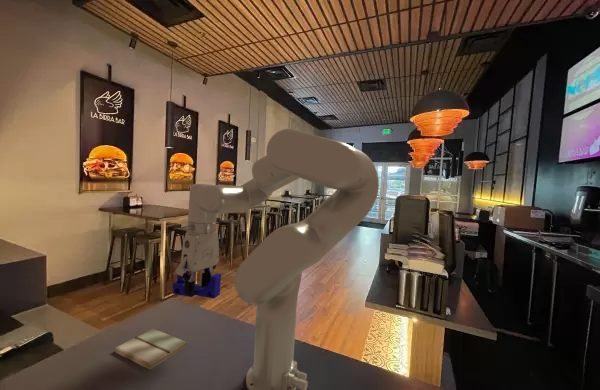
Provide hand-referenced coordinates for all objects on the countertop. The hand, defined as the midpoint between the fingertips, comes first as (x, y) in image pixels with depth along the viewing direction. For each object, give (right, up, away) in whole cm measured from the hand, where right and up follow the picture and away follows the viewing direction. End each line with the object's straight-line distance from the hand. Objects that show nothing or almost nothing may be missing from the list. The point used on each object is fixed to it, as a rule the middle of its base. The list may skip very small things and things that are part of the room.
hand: (197, 290), depth 75 cm
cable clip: (0, -1, 0) cm, 1 cm away
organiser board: (-12, -15, -3) cm, 20 cm away
